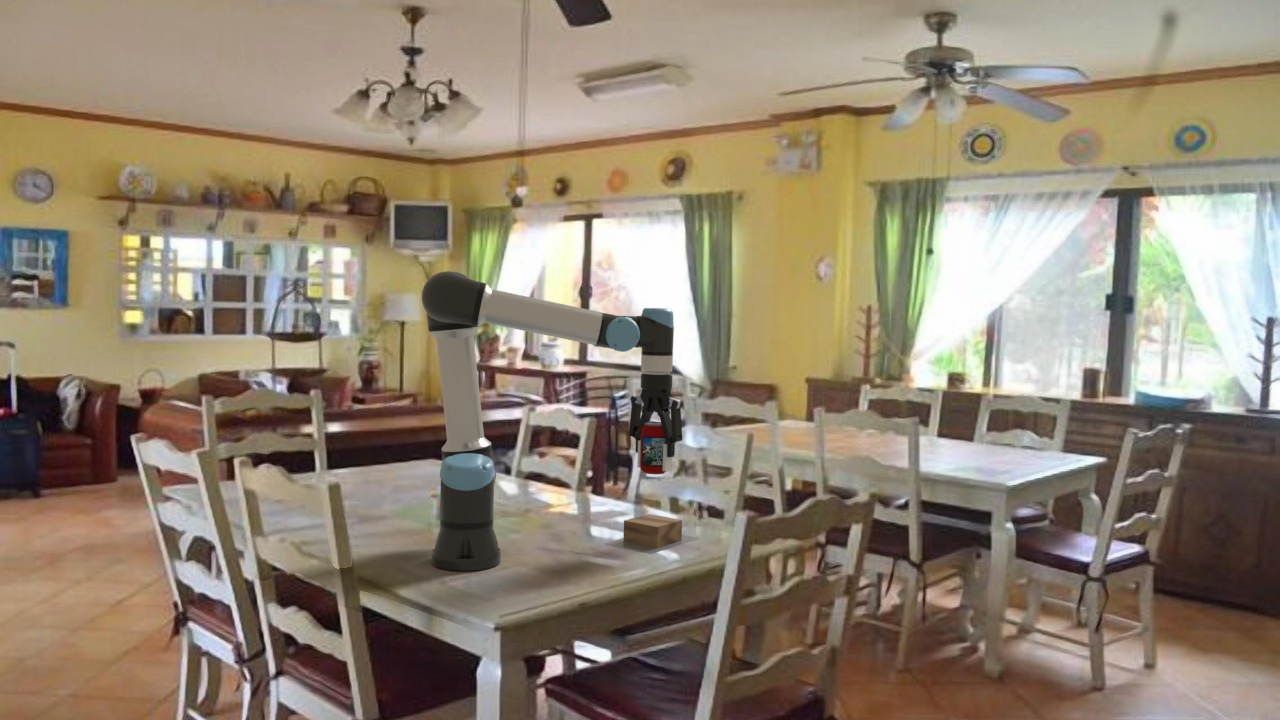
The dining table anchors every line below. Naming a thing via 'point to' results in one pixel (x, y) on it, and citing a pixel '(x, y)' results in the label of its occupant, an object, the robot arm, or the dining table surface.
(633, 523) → the walnut block
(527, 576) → the dining table surface
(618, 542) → the flat plate
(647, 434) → the beverage can
